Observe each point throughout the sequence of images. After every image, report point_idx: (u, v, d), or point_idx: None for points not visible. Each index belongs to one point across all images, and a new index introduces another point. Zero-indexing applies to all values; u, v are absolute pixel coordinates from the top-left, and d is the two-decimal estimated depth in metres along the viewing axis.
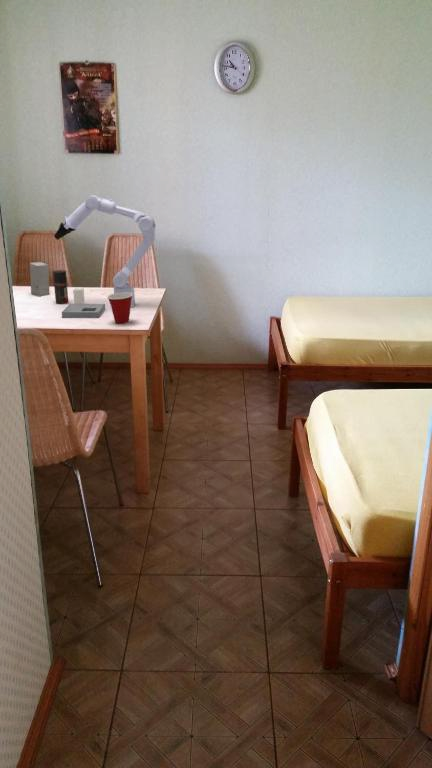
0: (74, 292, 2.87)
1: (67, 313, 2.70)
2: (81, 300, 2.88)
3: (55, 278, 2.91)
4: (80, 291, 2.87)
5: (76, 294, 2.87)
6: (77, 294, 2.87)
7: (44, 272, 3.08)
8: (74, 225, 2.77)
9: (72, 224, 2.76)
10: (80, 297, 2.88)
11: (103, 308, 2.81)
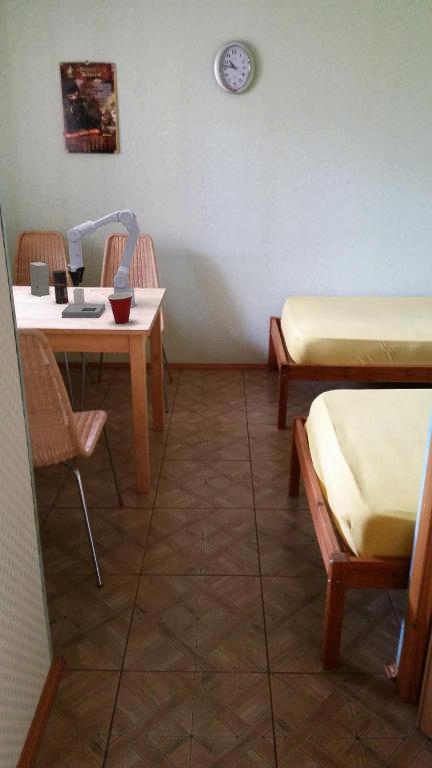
0: (74, 292, 2.87)
1: (67, 313, 2.70)
2: (81, 300, 2.88)
3: (55, 278, 2.91)
4: (80, 291, 2.87)
5: (76, 294, 2.87)
6: (77, 294, 2.87)
7: (44, 272, 3.08)
8: (78, 264, 2.82)
9: (76, 264, 2.81)
10: (80, 297, 2.88)
11: (103, 308, 2.81)
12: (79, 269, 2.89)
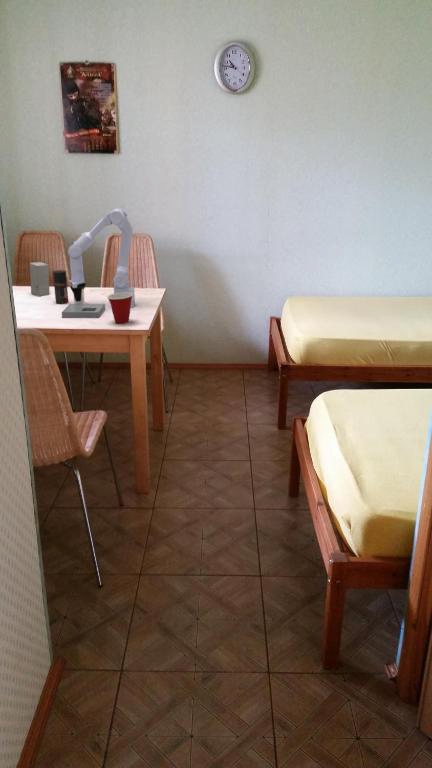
0: None
1: (67, 313, 2.70)
2: (81, 300, 2.88)
3: (55, 278, 2.91)
4: None
5: None
6: None
7: (44, 272, 3.08)
8: (80, 280, 2.84)
9: (78, 280, 2.84)
10: None
11: (103, 308, 2.81)
12: (80, 285, 2.90)
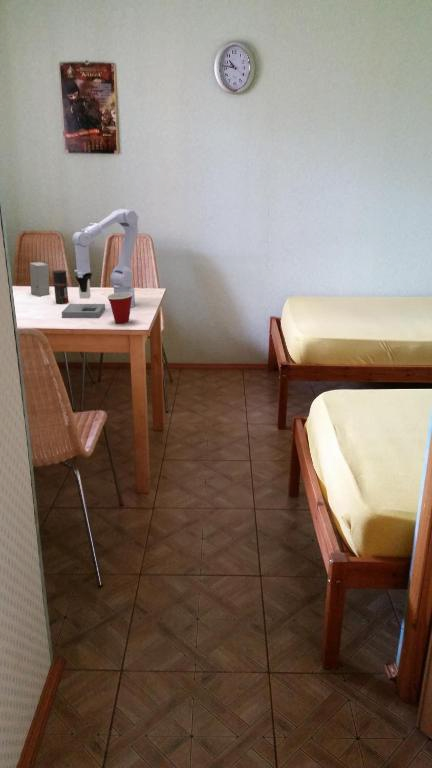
0: None
1: (67, 313, 2.70)
2: (87, 291, 2.74)
3: (55, 278, 2.91)
4: None
5: None
6: None
7: (44, 272, 3.08)
8: (86, 269, 2.70)
9: (84, 270, 2.70)
10: None
11: (103, 308, 2.81)
12: (85, 275, 2.75)
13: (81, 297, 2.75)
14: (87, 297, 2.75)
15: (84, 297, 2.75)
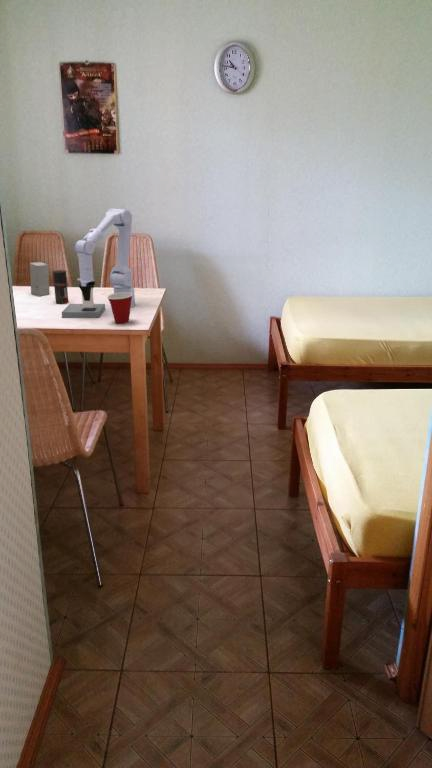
0: None
1: (67, 313, 2.70)
2: (90, 300, 2.71)
3: (55, 278, 2.91)
4: None
5: None
6: None
7: (44, 272, 3.08)
8: (89, 278, 2.67)
9: (87, 278, 2.67)
10: None
11: (103, 308, 2.81)
12: (89, 284, 2.72)
13: (84, 306, 2.72)
14: (90, 306, 2.72)
15: (87, 306, 2.72)
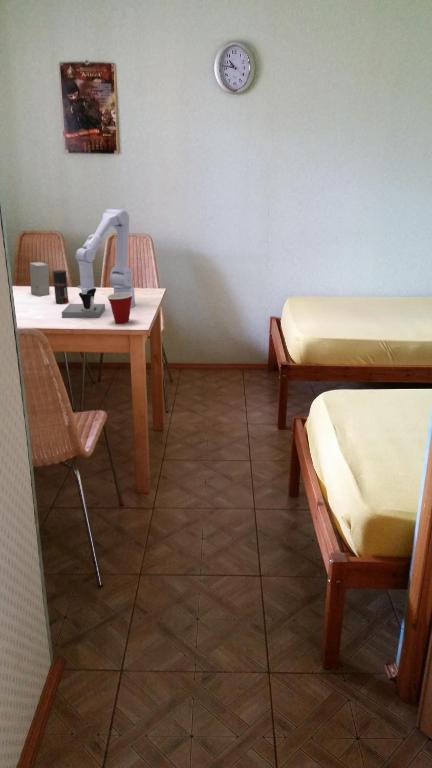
0: None
1: (67, 313, 2.70)
2: (91, 309, 2.72)
3: (55, 278, 2.91)
4: None
5: None
6: None
7: (44, 272, 3.08)
8: (90, 285, 2.68)
9: (87, 286, 2.68)
10: (90, 306, 2.72)
11: (103, 308, 2.81)
12: (90, 291, 2.75)
13: None
14: None
15: None
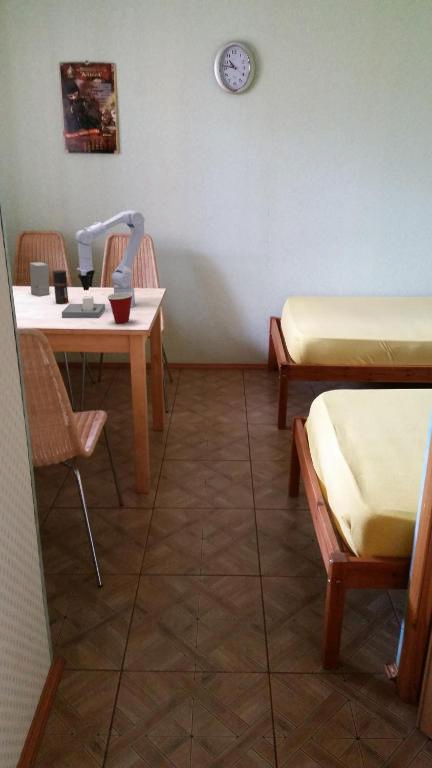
0: (83, 300, 2.71)
1: (67, 313, 2.70)
2: (91, 309, 2.72)
3: (55, 278, 2.91)
4: (90, 299, 2.71)
5: (86, 302, 2.71)
6: (87, 302, 2.71)
7: (44, 272, 3.08)
8: (89, 267, 2.74)
9: (86, 268, 2.74)
10: (90, 306, 2.72)
11: (103, 308, 2.81)
12: (89, 272, 2.81)
13: None
14: None
15: None
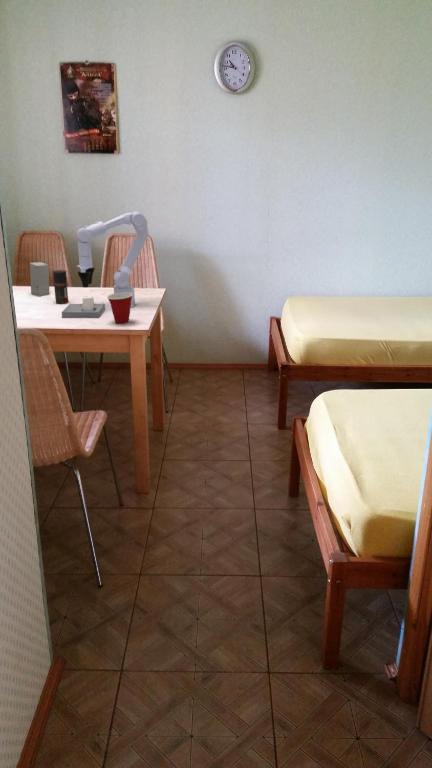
0: (83, 300, 2.71)
1: (67, 313, 2.70)
2: (91, 309, 2.72)
3: (55, 278, 2.91)
4: (90, 299, 2.71)
5: (86, 302, 2.71)
6: (87, 302, 2.71)
7: (44, 272, 3.08)
8: (88, 264, 2.79)
9: (86, 265, 2.79)
10: (90, 306, 2.72)
11: (103, 308, 2.81)
12: (88, 270, 2.86)
13: None
14: None
15: None
